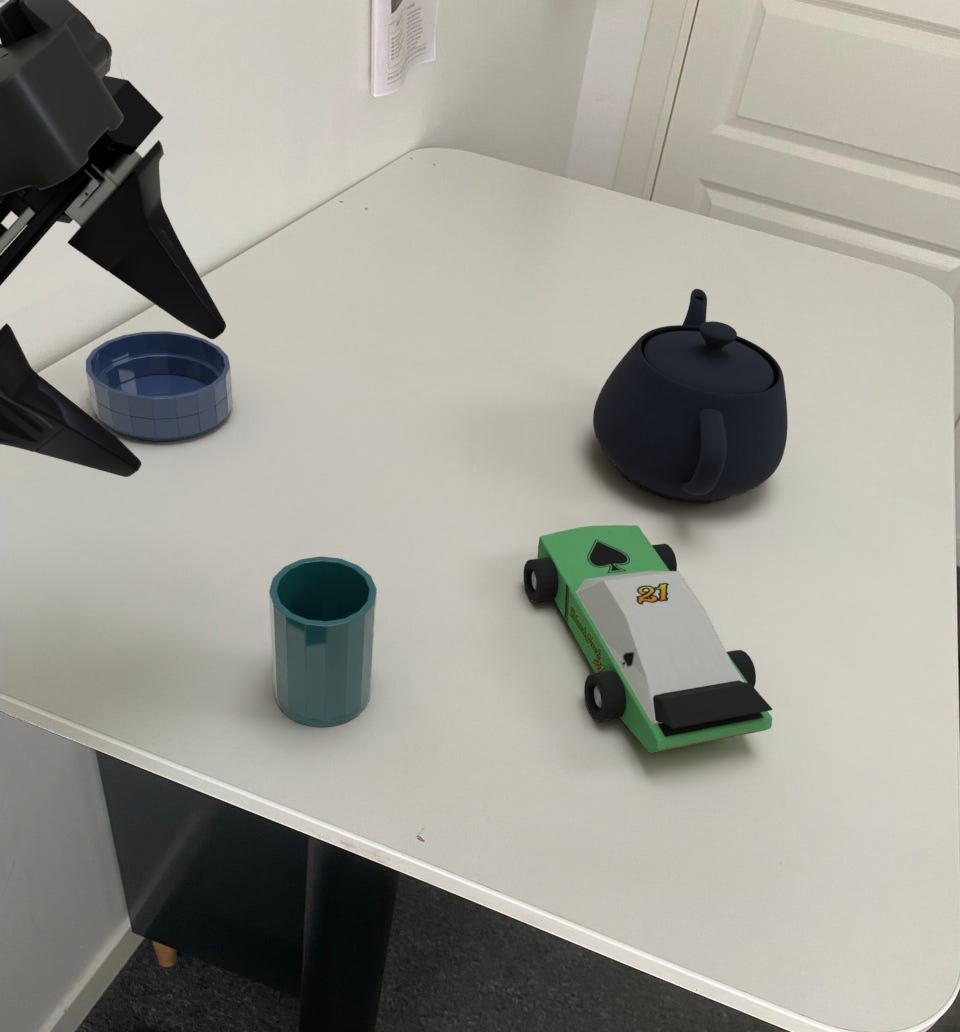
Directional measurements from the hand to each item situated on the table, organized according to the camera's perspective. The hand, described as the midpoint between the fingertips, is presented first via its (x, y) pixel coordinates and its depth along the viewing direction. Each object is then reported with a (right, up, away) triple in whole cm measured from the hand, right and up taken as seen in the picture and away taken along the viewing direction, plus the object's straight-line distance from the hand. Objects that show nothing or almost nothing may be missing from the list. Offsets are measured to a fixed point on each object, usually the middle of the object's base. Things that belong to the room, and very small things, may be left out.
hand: (180, 398), depth 41 cm
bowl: (-12, +8, +34) cm, 37 cm away
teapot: (+30, +4, +38) cm, 49 cm away
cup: (+4, -14, +14) cm, 20 cm away
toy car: (+23, -11, +20) cm, 33 cm away
